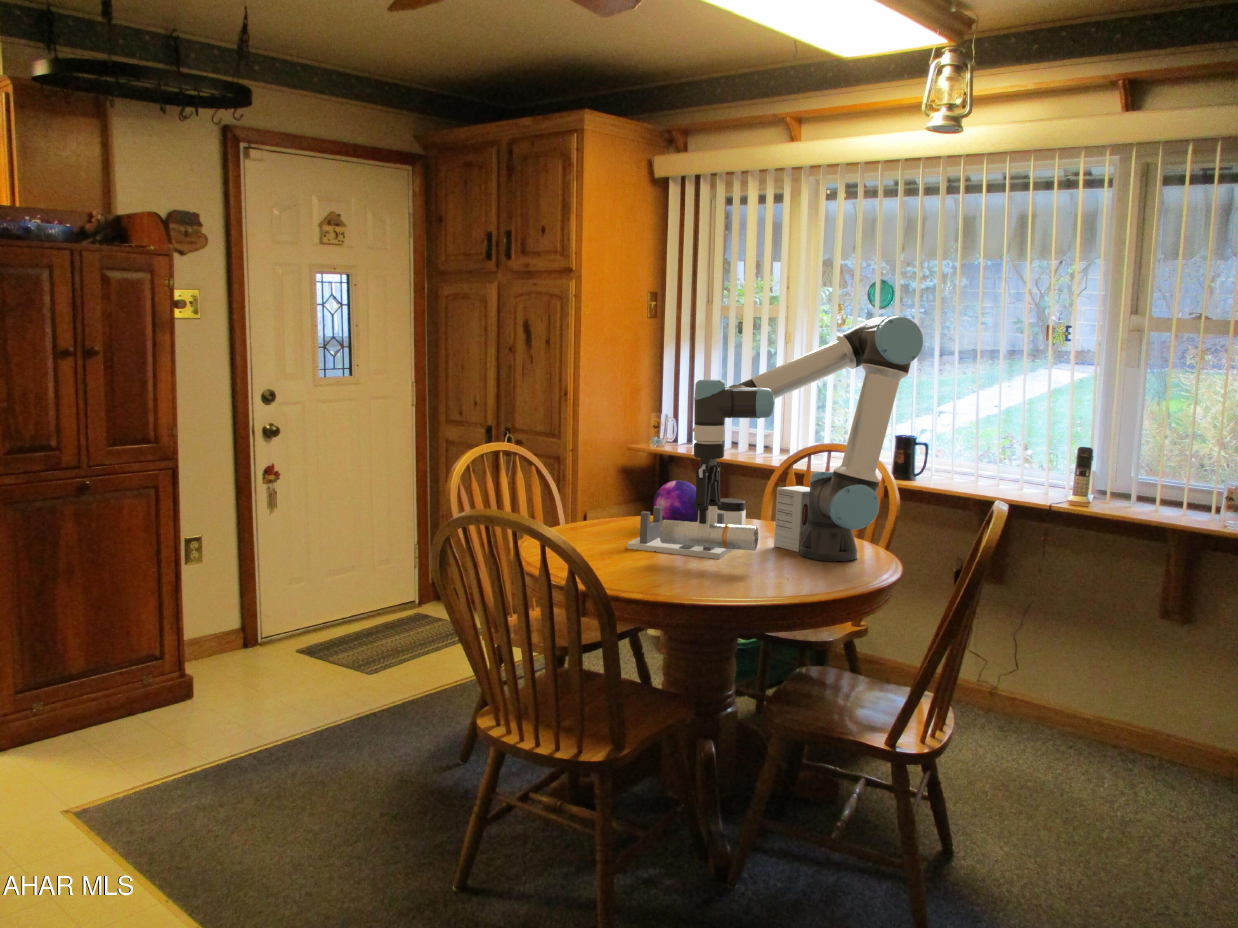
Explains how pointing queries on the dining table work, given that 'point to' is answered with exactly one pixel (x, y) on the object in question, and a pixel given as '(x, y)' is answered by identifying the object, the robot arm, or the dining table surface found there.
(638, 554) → the dining table surface
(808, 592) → the dining table surface
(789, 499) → the supplement box
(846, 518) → the robot arm
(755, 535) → the steel tube
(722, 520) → the cradle stand
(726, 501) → the jar
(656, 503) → the decorative orb
